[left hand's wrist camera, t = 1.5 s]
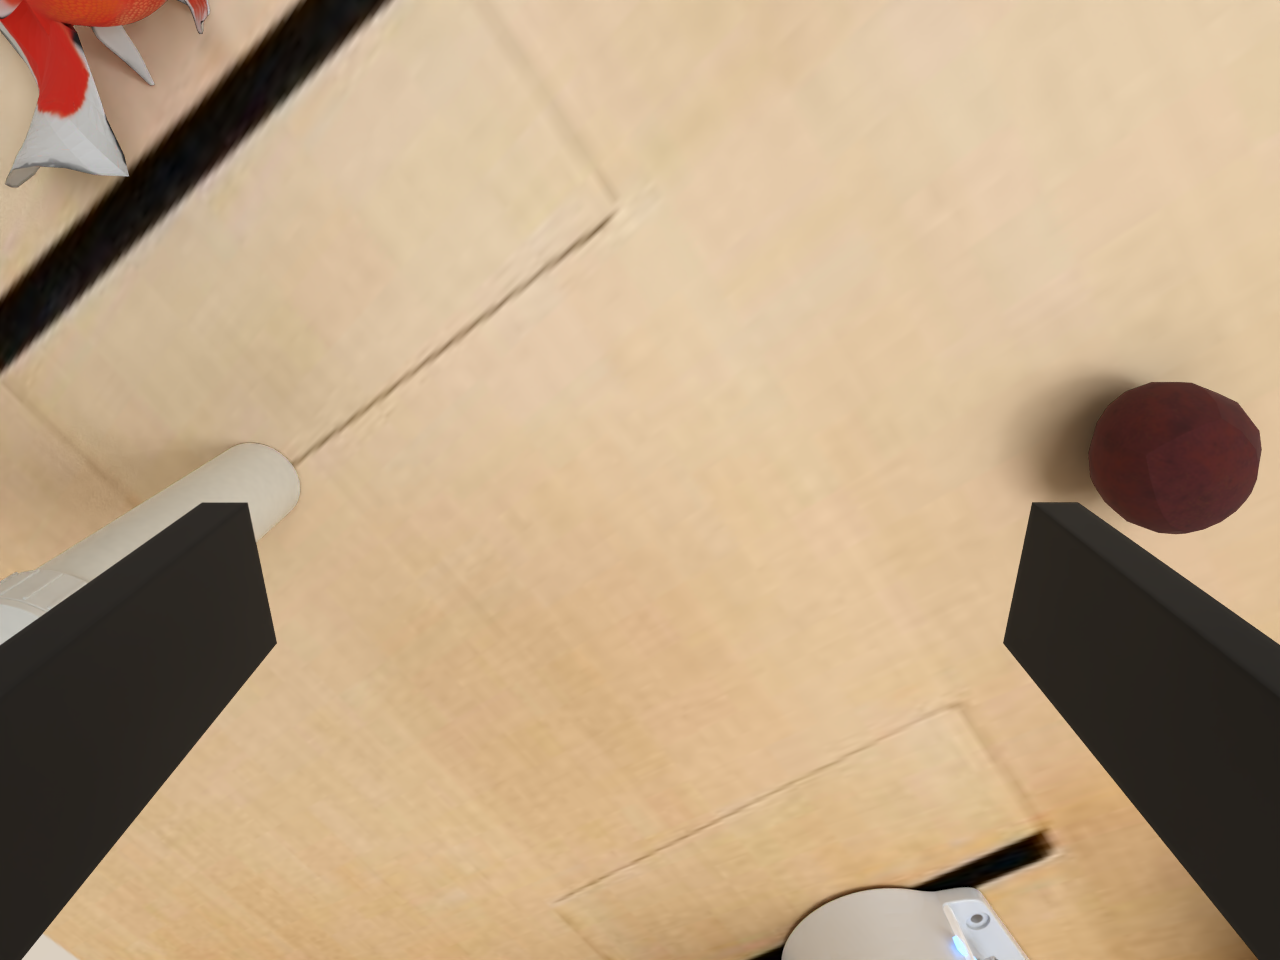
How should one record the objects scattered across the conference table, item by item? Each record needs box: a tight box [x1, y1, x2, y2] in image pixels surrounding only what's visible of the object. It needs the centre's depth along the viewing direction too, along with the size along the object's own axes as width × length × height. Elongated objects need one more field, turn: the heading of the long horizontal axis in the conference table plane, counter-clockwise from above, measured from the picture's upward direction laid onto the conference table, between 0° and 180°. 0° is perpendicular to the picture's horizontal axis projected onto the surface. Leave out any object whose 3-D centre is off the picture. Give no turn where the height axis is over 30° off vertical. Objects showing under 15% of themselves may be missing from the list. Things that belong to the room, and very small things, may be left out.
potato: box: [1088, 382, 1262, 534], centre depth 38 cm, size 7×8×7 cm
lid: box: [0, 569, 88, 645], centre depth 27 cm, size 5×5×2 cm
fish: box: [0, 0, 210, 187], centre depth 31 cm, size 11×16×10 cm
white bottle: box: [35, 443, 300, 583], centre depth 34 cm, size 5×5×17 cm
